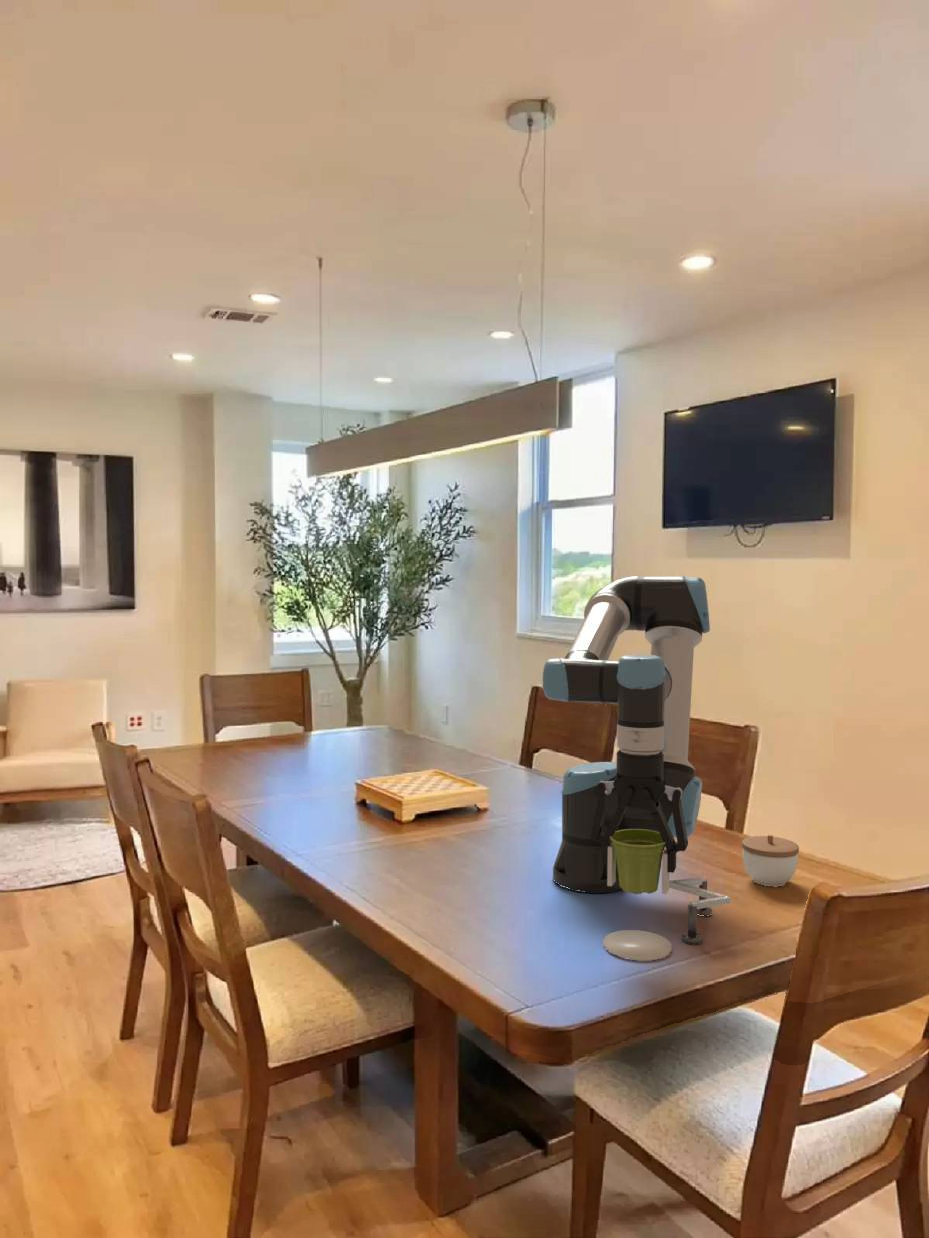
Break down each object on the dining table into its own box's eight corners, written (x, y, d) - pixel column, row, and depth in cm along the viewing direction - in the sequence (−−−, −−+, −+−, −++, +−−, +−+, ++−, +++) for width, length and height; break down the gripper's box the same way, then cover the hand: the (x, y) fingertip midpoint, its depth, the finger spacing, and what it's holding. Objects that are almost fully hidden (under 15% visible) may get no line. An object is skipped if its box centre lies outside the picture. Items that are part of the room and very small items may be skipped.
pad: (596, 954, 147) (596, 950, 147) (611, 929, 157) (611, 925, 157) (664, 965, 143) (665, 962, 143) (676, 939, 153) (676, 935, 153)
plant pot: (599, 891, 148) (600, 838, 147) (623, 874, 156) (624, 825, 155) (654, 903, 143) (655, 849, 142) (675, 885, 151) (676, 834, 150)
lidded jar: (761, 893, 174) (763, 845, 174) (730, 875, 185) (731, 830, 184) (809, 888, 177) (810, 841, 177) (776, 870, 188) (777, 826, 187)
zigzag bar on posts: (656, 938, 153) (657, 900, 153) (672, 905, 168) (673, 870, 168) (725, 949, 149) (726, 910, 148) (735, 914, 164) (736, 878, 163)
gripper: (571, 749, 148) (569, 885, 150) (703, 760, 140) (700, 904, 142) (583, 741, 155) (581, 871, 157) (709, 751, 147) (706, 888, 149)
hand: (638, 886), depth 149 cm, fingers closed on plant pot, 8 cm apart
